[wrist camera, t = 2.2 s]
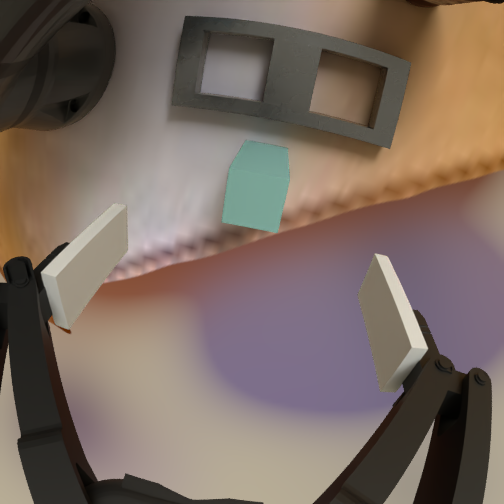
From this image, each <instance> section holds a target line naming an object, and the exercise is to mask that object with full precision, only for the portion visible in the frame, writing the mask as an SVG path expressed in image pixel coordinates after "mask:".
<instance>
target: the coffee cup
mask: <svg viewBox="0 0 504 504" xmlns="http://www.w3.org/2000/svg"><path fill="white" fill-rule="evenodd" d="M406 1H407V2H409V3H410V4H412V5H415V6H418V7H434V6H438V5H453V4H462V3H470V2H478V1H485V2H489V3H494V4H496V3H498V4H501V3H503V2H504V0H406Z"/></svg>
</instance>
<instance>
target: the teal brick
mask: <svg viewBox="0 0 504 504" xmlns="http://www.w3.org/2000/svg"><path fill="white" fill-rule="evenodd" d="M289 181H290V175H289V159H288V148H285V147H280V146H275V145H270V144H265V143H260V142H254V141H248V140H246V141H245V143H244V144H243V146H242V147H241V149H240V151H239V153H238V154H237V156H236V158H235V159H234V161H233V163H232V164H231V166H230V168H229V173H228V180H227V186H226V193H225V200H224V207H223V214H222V222H223V223H228V224H233V225H239V226H244V227H249V228H254V229H259V230H265V231H270V232H275V233H278V229H279V225H280V220H281V216H282V212H283V207H284V203H285V199H286V194H287V190H288V186H289Z"/></svg>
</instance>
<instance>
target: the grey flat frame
mask: <svg viewBox="0 0 504 504" xmlns="http://www.w3.org/2000/svg"><path fill="white" fill-rule="evenodd" d="M210 33H215V34H226V35H235V36H244V37H251V38H258V39H265V40H271V41H274V45H273V50H272V56H271V61H270V66H269V71H268V77H267V82H266V87H265V92H264V98H263V101H258V100H252V99H246V98H239V97H232V96H225V95H218V94H209V93H201V92H200V90H201V84H202V77H203V71H204V64H205V58H206V52H207V47H208V41H209V35H210ZM321 51H324V52H328V53H332V54H336V55H340V56H343V57H347V58H350V59H354V60H357V61H360V62H364V63H367V64H370V65H373V66H376V67H379V68H382V70H381V74H380V79H379V83H378V88H377V92H376V96H375V101H374V105H373V109H372V113H371V117H370V121H369V125H368V126H365V125H362V124H358V123H355V122H351V121H348V120H344V119H340V118H337V117H333V116H329V115H325V114H321V113H317V112H312V111H309V108H310V103H311V99H312V94H313V89H314V85H315V80H316V75H317V70H318V65H319V61H320V56H321ZM410 66H411V62H408V61H406V60H403V59H401V58H398V57H395V56H393V55H390V54H387V53H384V52H381V51H378V50H375V49H372V48H369V47H366V46H363V45H360V44H357V43H353V42H350V41H346V40H343V39H339V38H335V37H331V36H328V35H323V34H319V33H315V32H311V31H306V30H301V29H296V28H291V27H286V26H280V25H275V24H268V23H262V22H254V21H247V20H238V19H228V18H216V17H199V16H185V20H184V25H183V31H182V36H181V42H180V48H179V55H178V61H177V68H176V75H175V82H174V89H173V97H172V105H175V106H185V107H194V108H202V109H210V110H218V111H225V112H232V113H238V114H245V115H251V116H256V117H262V118H267V119H273V120H278V121H283V122H288V123H293V124H297V125H302V126H306V127H311V128H315V129H319V130H323V131H327V132H331V133H335V134H339V135H343V136H347V137H351V138H354V139H358V140H361V141H365V142H368V143H372V144H375V145H378V146H382V147H385V148H388V149H390V147H391V143H392V140H393V136H394V132H395V129H396V125H397V121H398V117H399V114H400V110H401V106H402V101H403V97H404V93H405V89H406V84H407V80H408V75H409V71H410Z"/></svg>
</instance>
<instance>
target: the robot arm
mask: <svg viewBox="0 0 504 504" xmlns="http://www.w3.org/2000/svg"><path fill="white" fill-rule="evenodd" d="M90 1H91V0H0V132H2V131H4V130H7V129H10V128H12V127H14V128H23V129H31V130H39V131H49V130H55V129H59V128H61V127H64V126H67V125H70V124H72V123H75V122H76V121H78V120H80V119H81V118H83V117H84V116H85V115H86V114H88V113H89V112H90V111H91V110H92V108H93V107H94V106H95V105H96V104H97V102H98V101H99V99H100V98H101V96H102V95H103V93H104V91H105V89H106V87H107V85H108V82H109V79H110V77H111V73H112V70H113V65H114V58H115V41H114V35H113V31H112V28H111V25H110V23H109V21H108V19H107V18H106V16H105V15H104V14H103V12H102V11H101V10H100V9H98V8H97V7H95V6H94V5H92V4H90V3H89V2H90ZM127 251H128V233H127V205H122V204H116V203H114V204H113V205H112V206H111V207H110V208H108V209H107V210H106V211H105V212H104V213H103V214H102V215H100V216H99V217H98V218H97V219H96V220H95V221H94V222H93V223H91V224H90V225H89V226H88V227H87V228H86V229H85V230H84V231H83V232H82V233H81V234H79V235H78V236H77V237H76V238H75V239H74V240H73V241H72V242H71V243H67V242H66V243H64V244H62V245H60V246H58V247H57V248H56V249H54V250H53V251H52V252H51V254H49V255H48V256H47V257H46V259H44V260H43V261H42V262H41V263H40V264H39V265H38V266H37V267H36V268H35V269H34V270H33V267H32V263H31V260H30V259H29V258H27V257H23V256H21V257H15V258H12V259H11V260H9V261H7V262H6V264H5V265H4V267H3V271H4V275H5V278H6V281H7V283H0V390H1V382H2V376H3V370H4V364H5V358H6V353H7V348H8V343H9V356H10V368H11V377H12V385H13V392H14V399H15V405H16V410H17V416H18V422H19V427H20V431H21V438H19V439H18V443H17V444H18V451H19V455H20V458H21V462H22V466H23V470H24V473H25V476H26V480H27V483H28V486H29V490H30V493H31V496H32V499H33V501H34V504H263V503H262V502H252V501H244V500H236V499H230V498H229V499H210V500H192V499H189V498H186V497H184V496H182V495H180V494H178V493H176V492H174V491H172V490H170V489H168V488H166V487H164V486H162V485H160V484H158V483H155V482H151V481H148V480H145V479H141V478H138V477H135V476H132V475H128V474H125V477H124V479H108V480H102V481H97V478H96V477H95V474H94V473H93V471H92V469H91V467H90V465H89V463H88V461H87V459H86V457H85V454H84V451H83V449H82V446H81V443H80V441H79V438H78V435H77V432H76V429H75V426H74V423H73V420H72V417H71V414H70V411H69V407H68V404H67V400H66V397H65V393H64V390H63V386H62V382H61V378H60V375H59V370H58V366H57V362H56V357H55V352H54V347H53V343H52V337H51V332H50V326H49V323H48V320H49V318H50V317H51V316H53V319H54V322H55V325H58V326H60V327H63V328H66V329H70V328H71V326H72V325H73V323H74V322H75V320H76V319H77V318H78V316H79V315H80V313H81V312H82V311H83V309H84V308H85V306H86V305H87V304H88V302H89V301H90V299H91V298H92V297H93V295H94V294H95V293H96V291H97V290H98V288H99V287H100V286H101V285H102V283H103V282H104V281H105V279H106V278H107V277H108V275H109V274H110V273H111V271H112V270H113V269H114V267H115V266H116V265H117V264H118V262H119V261H120V260H121V258H122V257H123V256H124V255H125V253H126V252H127ZM358 299H359V303H360V306H361V310H362V314H363V318H364V322H365V326H366V330H367V334H368V338H369V342H370V347H371V351H372V355H373V360H374V364H375V369H376V374H377V378H378V383H379V388H380V392H396V391H397V390H398V389H399V387H400V386H401V385H402V384H403V388H404V392H403V393H402V395H401V396H400V397H399V398H398V399H397V401H396V402H395V403H394V404H393V408H392V409H391V411H390V412H389V413H388V415H387V416H386V418H385V419H384V420H383V422H382V423H381V424H380V426H379V427H378V429H377V430H376V431H375V433H374V434H373V435H372V437H371V438H370V439H369V440H368V442H367V443H366V444H365V445H364V447H363V448H362V449H361V450H360V452H359V453H358V454H357V455H356V457H355V458H354V459H353V460H352V461H351V463H350V464H349V465H348V466H347V467H346V469H345V470H344V471H343V472H342V473H341V474H340V475H339V476H338V478H337V479H336V480H335V481H334V482H333V483H332V484H331V485H330V486H329V487H328V488H327V489H326V491H325V492H324V493H323V494H322V495H321V496H320V497H319V498H318V499H317V500H316V501H315V502H314V503H313V504H383V503H384V502H385V501H386V499H387V498H388V496H389V495H390V493H391V492H392V490H393V489H394V488H395V486H396V485H397V483H398V482H399V480H400V479H401V477H402V475H403V474H404V472H405V471H406V469H407V467H408V466H409V464H410V463H411V461H412V459H413V458H414V456H415V454H416V452H417V451H418V449H419V447H420V445H421V443H422V442H423V440H424V438H425V436H426V434H427V432H428V431H429V429H430V427H431V425H432V423H433V421H434V419H435V422H434V427H433V431H432V436H431V441H430V445H429V449H428V454H427V457H426V461H425V465H424V469H423V472H422V476H421V479H420V483H419V486H418V489H417V493H416V496H415V499H414V502H413V504H482V503H483V498H484V492H485V486H486V479H487V471H488V462H489V453H490V440H491V420H492V418H491V417H492V390H491V389H492V388H491V387H492V386H491V379H490V378H489V376H488V374H487V373H486V372H485V371H483V370H482V369H480V368H472V369H471V370H470V371H469V372H468V374H464V373H461V372H458V371H456V370H455V368H454V365H453V363H452V362H451V361H450V360H449V359H448V358H447V357H445V356H443V355H440V354H439V351H438V349H437V346H436V344H435V342H434V339H433V337H432V334H430V333H431V332H430V330H429V328H428V325H427V323H426V321H425V318H424V317H423V316H422V315H421V314H420V312H419V311H418V310H412V308H411V306H410V304H409V301H408V299H407V297H406V295H405V292H404V290H403V288H402V286H401V284H400V281H399V279H398V277H397V275H396V273H395V271H394V269H393V267H392V264H391V262H390V260H389V258H388V257H387V256H384V255H379V254H374V257H373V260H372V262H371V264H370V267H369V269H368V272H367V274H366V276H365V279H364V281H363V283H362V286H361V288H360V290H359V292H358Z"/></svg>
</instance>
